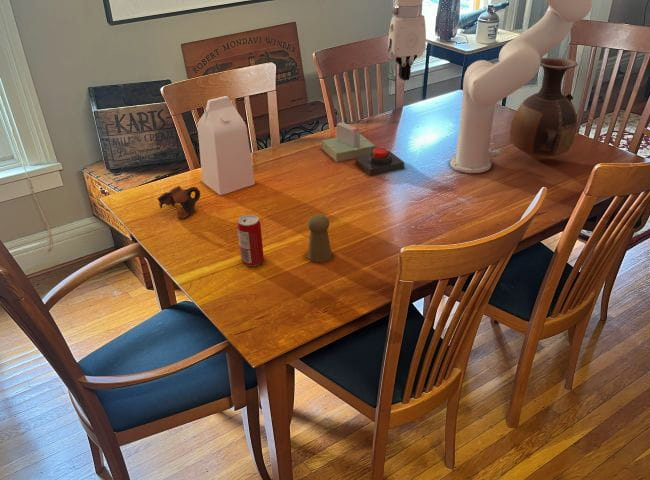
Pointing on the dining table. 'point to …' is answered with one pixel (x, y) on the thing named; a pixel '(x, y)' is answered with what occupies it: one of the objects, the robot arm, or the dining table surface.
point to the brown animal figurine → (181, 199)
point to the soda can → (250, 240)
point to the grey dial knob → (348, 134)
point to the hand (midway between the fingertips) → (404, 78)
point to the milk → (224, 148)
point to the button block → (379, 163)
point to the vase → (546, 115)
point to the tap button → (380, 152)
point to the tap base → (346, 149)
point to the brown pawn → (319, 239)
